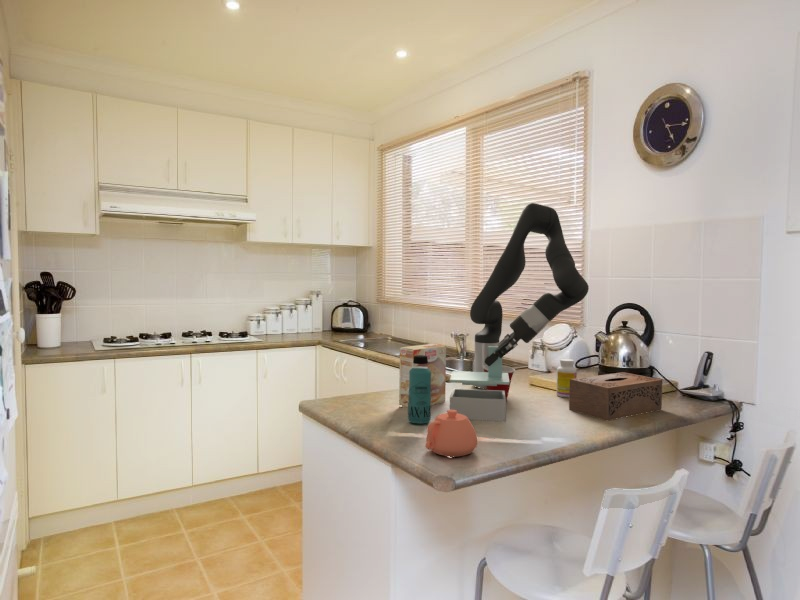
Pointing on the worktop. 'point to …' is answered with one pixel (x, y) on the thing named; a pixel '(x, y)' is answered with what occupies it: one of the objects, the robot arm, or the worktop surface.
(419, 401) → the beverage bottle
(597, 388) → the tissue box cover
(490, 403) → the tub
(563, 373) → the supplement bottle
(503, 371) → the plastic cup
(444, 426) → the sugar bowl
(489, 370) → the lid
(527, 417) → the worktop surface
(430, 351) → the coffeecake box
